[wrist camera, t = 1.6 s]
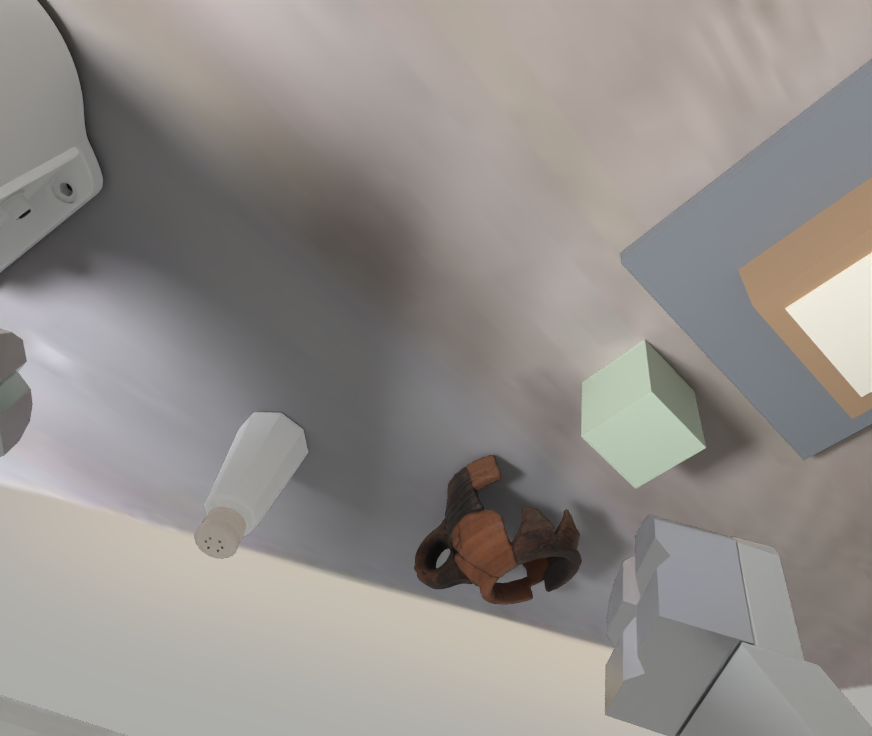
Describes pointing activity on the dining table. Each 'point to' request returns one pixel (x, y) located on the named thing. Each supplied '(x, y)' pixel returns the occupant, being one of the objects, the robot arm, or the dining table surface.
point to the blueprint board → (742, 233)
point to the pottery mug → (495, 543)
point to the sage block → (641, 415)
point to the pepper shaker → (250, 480)
